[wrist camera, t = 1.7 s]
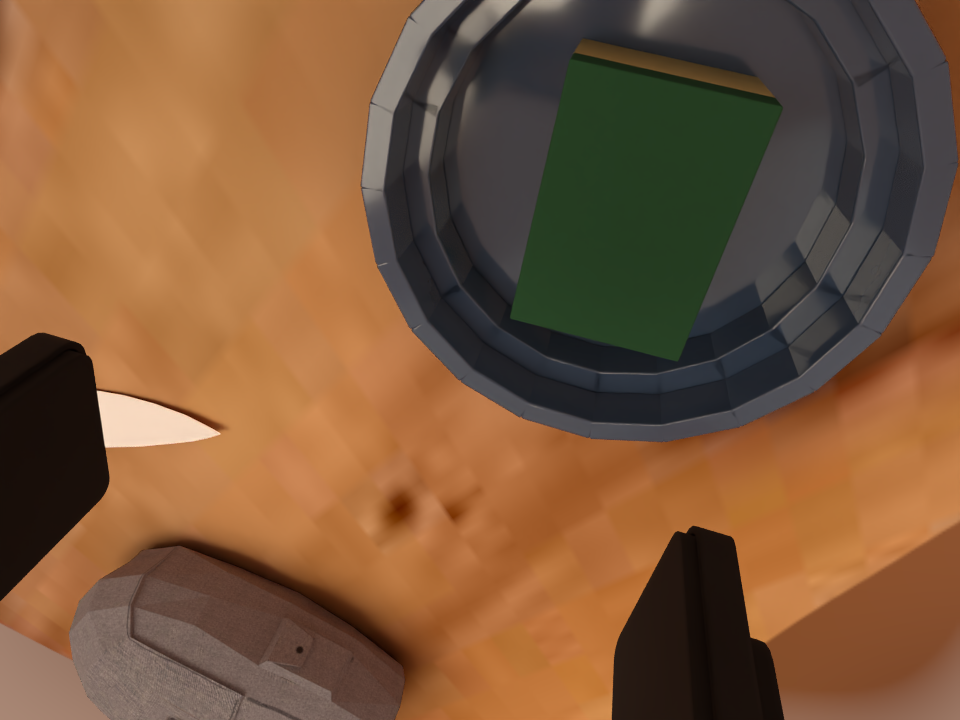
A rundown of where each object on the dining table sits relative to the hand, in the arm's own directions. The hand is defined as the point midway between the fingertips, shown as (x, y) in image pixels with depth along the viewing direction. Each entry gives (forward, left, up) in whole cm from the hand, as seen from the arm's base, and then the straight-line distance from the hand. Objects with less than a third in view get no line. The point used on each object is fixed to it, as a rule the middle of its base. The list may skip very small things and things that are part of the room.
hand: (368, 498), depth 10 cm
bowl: (-2, +3, -17) cm, 17 cm away
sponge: (-2, +3, -16) cm, 17 cm away
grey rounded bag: (+35, +1, -17) cm, 39 cm away
